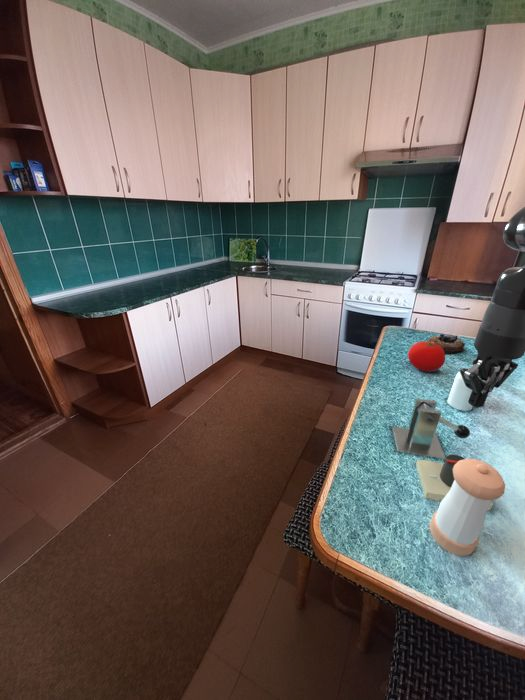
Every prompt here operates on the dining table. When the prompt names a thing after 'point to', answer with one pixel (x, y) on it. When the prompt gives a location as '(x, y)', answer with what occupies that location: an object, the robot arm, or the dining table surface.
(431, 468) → the dial panel
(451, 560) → the dining table surface
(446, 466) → the dial knob
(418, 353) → the tomato
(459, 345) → the pastry
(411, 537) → the dining table surface
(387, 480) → the dining table surface
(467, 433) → the tap lever
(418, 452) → the bracket
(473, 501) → the pepper shaker
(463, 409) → the can
